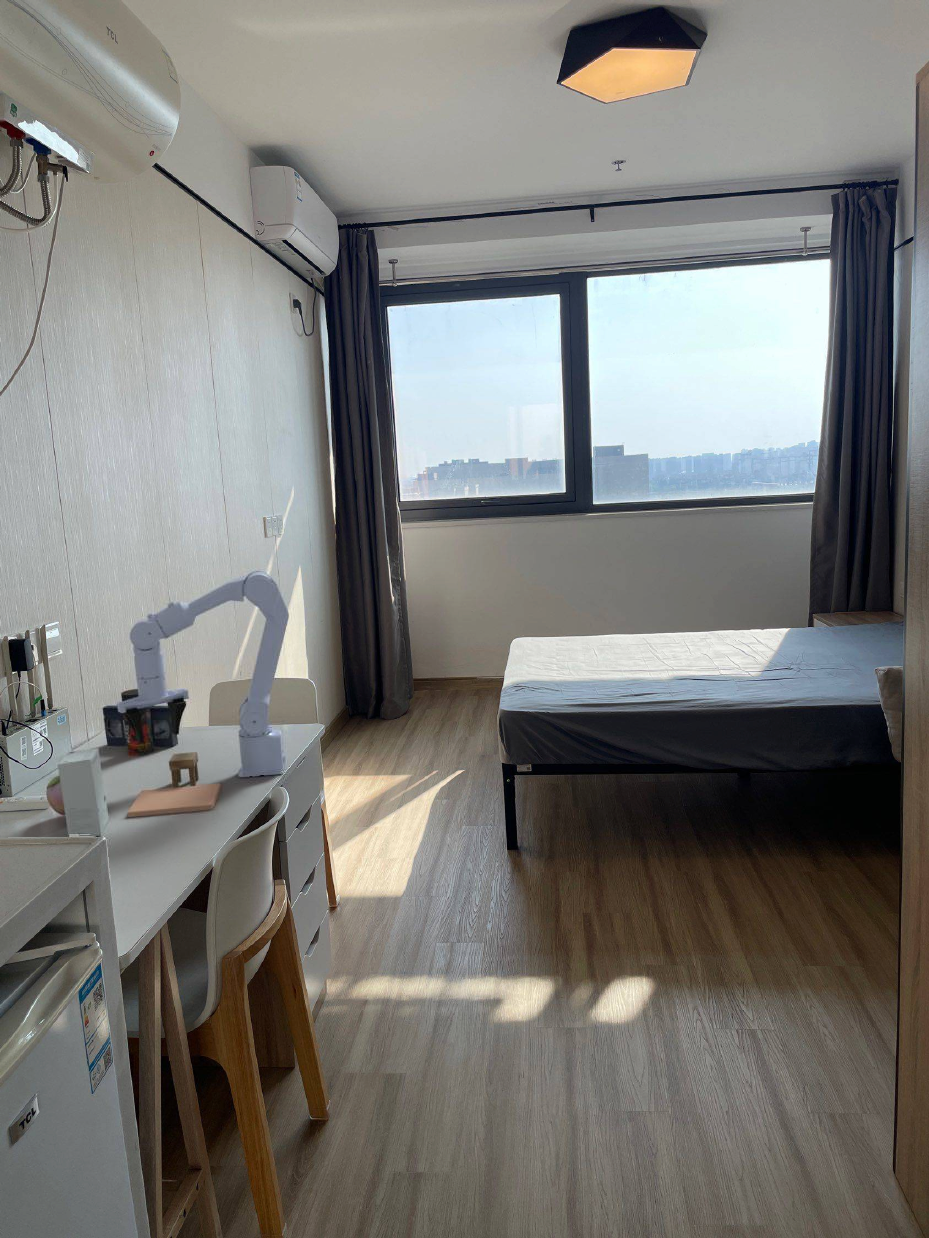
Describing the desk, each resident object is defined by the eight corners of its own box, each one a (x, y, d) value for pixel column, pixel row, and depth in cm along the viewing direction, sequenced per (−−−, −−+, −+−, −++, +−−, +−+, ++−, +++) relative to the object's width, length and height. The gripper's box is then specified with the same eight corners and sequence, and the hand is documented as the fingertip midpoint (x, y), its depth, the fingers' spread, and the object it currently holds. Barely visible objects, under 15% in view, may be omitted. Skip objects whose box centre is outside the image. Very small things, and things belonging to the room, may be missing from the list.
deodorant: (122, 754, 209) (115, 694, 206) (140, 747, 214) (133, 688, 212) (142, 756, 207) (135, 695, 204) (159, 749, 212) (152, 689, 209)
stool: (199, 778, 190) (197, 751, 189) (196, 786, 185) (193, 759, 184) (176, 780, 189) (173, 753, 188) (171, 788, 184) (168, 761, 183)
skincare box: (101, 837, 160) (92, 760, 158) (66, 841, 159) (56, 763, 156) (109, 820, 168) (100, 746, 166) (76, 824, 167) (66, 749, 164)
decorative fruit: (81, 805, 177) (75, 758, 175) (107, 811, 173) (101, 763, 171) (38, 822, 169) (32, 773, 167) (65, 829, 165) (59, 778, 163)
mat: (220, 788, 183) (220, 783, 183) (212, 809, 171) (212, 804, 171) (142, 795, 181) (141, 790, 181) (128, 817, 169) (127, 812, 169)
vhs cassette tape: (106, 746, 217) (101, 707, 215) (113, 742, 220) (109, 704, 218) (172, 748, 213) (168, 708, 211) (179, 744, 216) (174, 705, 214)
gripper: (176, 667, 191) (183, 726, 194) (109, 679, 182) (117, 742, 185) (189, 671, 186) (196, 732, 188) (120, 685, 177) (128, 749, 179)
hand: (158, 737), depth 186 cm, fingers open, 7 cm apart
